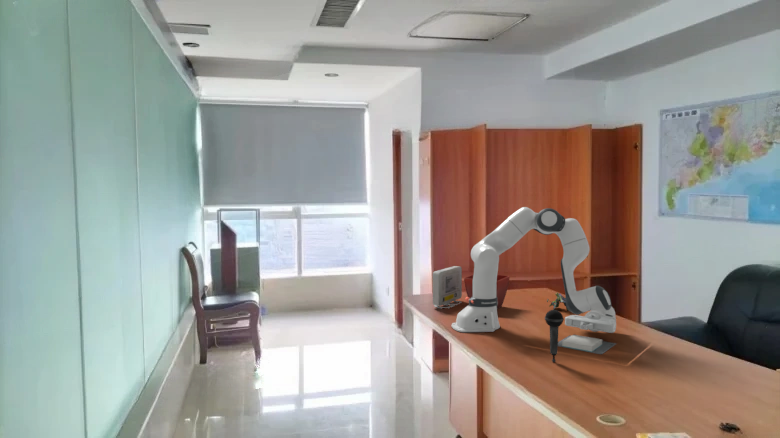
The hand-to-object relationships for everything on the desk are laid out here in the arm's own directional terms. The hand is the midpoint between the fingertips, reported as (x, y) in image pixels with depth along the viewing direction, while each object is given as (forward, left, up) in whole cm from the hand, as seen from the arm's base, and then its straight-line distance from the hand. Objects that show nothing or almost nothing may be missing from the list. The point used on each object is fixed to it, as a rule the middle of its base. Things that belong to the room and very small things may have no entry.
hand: (583, 327), depth 228 cm
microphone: (-21, -15, -8) cm, 27 cm away
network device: (-29, +87, -8) cm, 92 cm away
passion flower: (+23, +59, -8) cm, 64 cm away
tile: (+4, +3, -6) cm, 8 cm away
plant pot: (-11, +75, -8) cm, 77 cm away
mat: (+1, +1, -8) cm, 8 cm away
